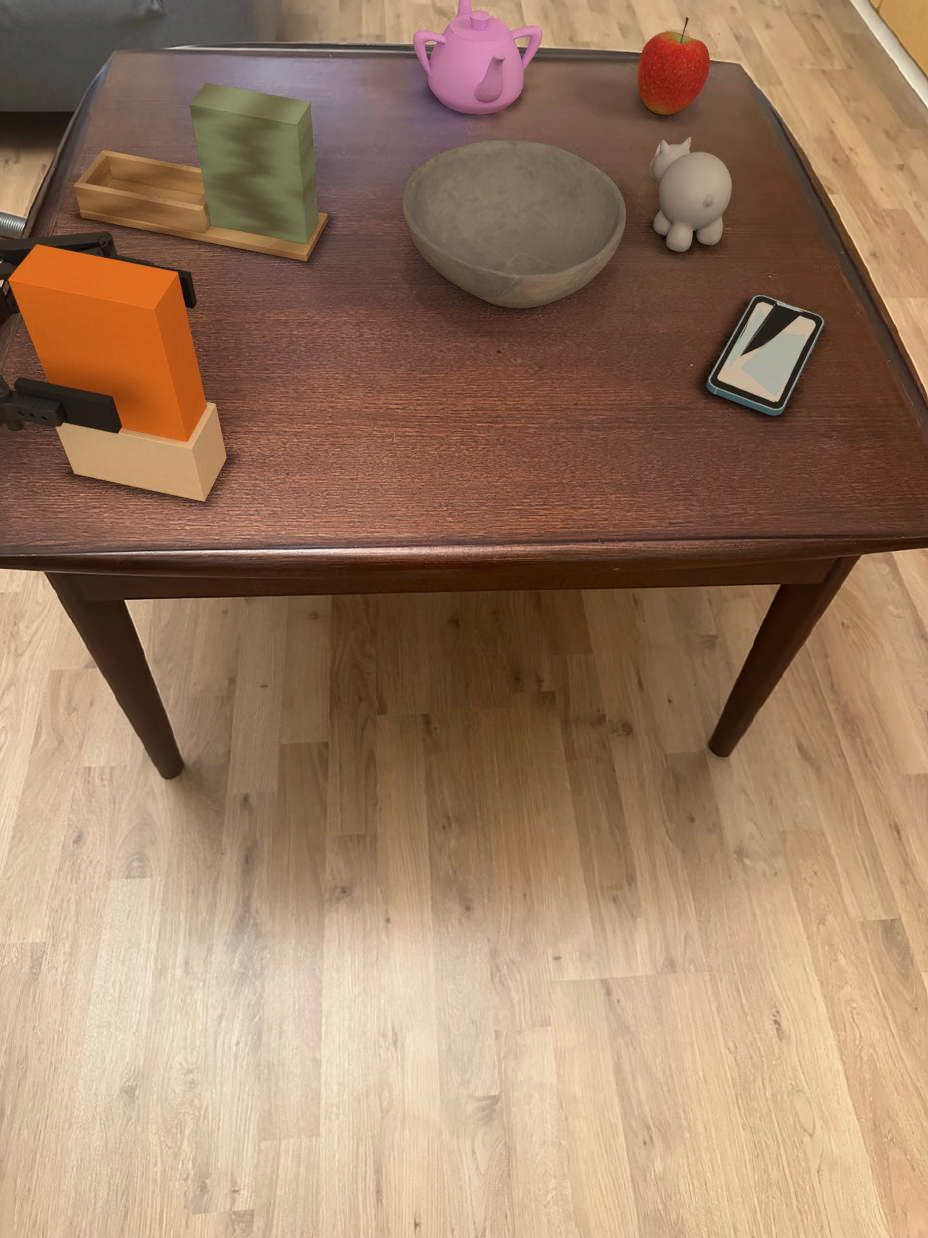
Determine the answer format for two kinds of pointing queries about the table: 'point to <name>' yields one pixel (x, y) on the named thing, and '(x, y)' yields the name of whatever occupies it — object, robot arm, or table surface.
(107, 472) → the pad riser
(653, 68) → the apple
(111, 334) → the orange rectangular block
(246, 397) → the table surface
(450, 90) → the teapot
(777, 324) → the smartphone
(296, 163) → the pad holder
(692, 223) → the round bodied animal figurine
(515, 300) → the bowl
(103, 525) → the table surface
